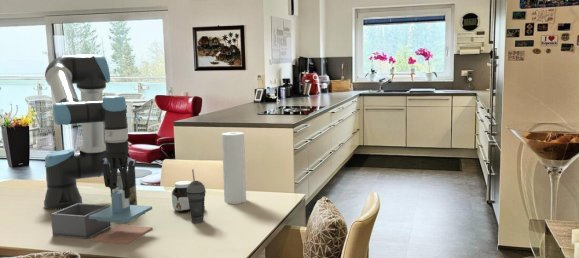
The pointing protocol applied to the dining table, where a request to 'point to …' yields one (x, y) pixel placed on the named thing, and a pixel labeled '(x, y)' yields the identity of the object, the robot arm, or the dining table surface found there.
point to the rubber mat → (122, 234)
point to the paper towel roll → (234, 167)
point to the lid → (120, 211)
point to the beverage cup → (196, 200)
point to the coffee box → (132, 190)
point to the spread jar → (181, 197)
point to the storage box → (78, 221)
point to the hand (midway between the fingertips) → (121, 206)
